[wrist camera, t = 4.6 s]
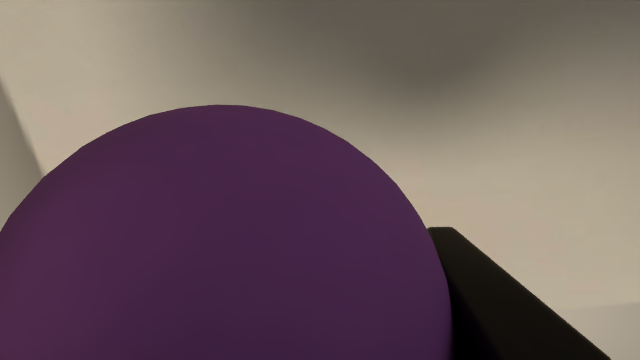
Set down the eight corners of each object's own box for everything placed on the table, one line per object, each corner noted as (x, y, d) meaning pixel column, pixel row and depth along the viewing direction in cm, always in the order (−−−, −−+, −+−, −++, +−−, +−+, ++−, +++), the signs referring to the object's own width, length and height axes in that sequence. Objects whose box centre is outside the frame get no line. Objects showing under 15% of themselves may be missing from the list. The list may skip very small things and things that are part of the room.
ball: (414, 328, 11) (477, 725, 6) (135, 328, 11) (-45, 706, 6) (431, 41, 8) (589, 326, 3) (54, 54, 8) (-419, 328, 3)
